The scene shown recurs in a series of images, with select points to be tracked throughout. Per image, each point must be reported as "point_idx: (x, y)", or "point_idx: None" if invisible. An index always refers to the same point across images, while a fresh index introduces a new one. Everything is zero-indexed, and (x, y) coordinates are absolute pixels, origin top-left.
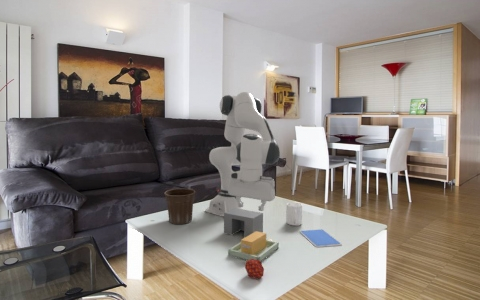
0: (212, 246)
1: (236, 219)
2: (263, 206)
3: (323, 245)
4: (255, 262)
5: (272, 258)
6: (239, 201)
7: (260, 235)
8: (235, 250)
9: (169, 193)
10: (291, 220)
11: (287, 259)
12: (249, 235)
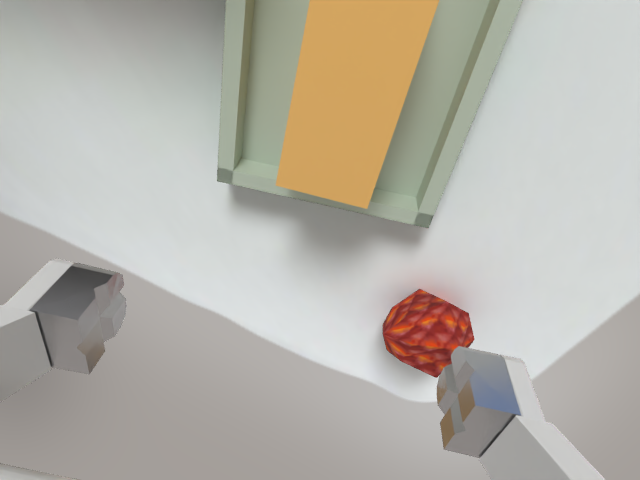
0: (61, 64)
1: None
2: (537, 417)
3: None
4: (438, 368)
5: (502, 115)
6: (18, 374)
7: (404, 34)
8: (262, 178)
9: None
10: None
11: (612, 96)
12: (303, 74)
